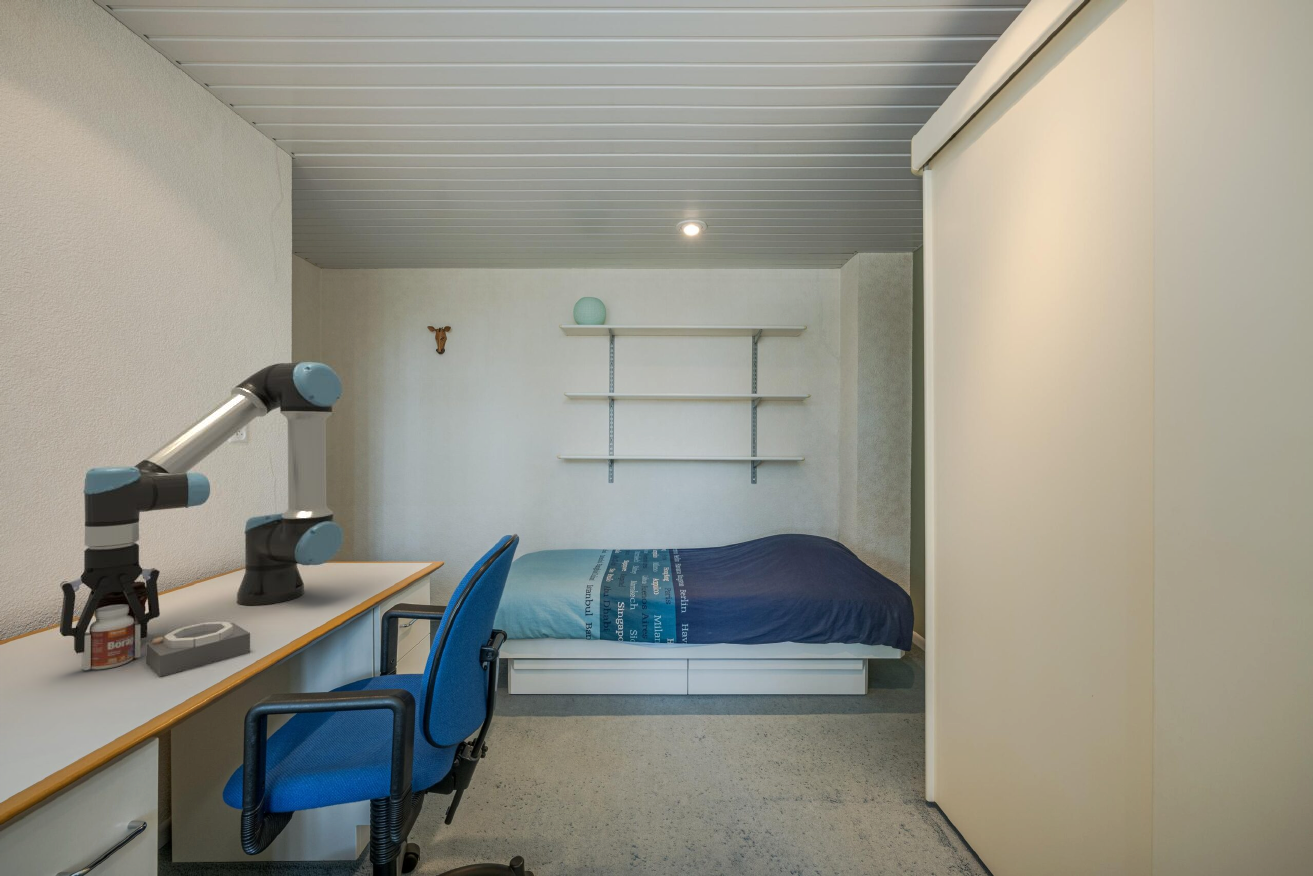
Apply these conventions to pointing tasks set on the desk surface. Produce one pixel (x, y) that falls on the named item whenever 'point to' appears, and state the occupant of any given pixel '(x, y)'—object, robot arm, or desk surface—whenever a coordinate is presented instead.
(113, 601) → the takeaway cup with lid
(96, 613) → the pill bottle
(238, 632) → the grey block with ring
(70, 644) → the desk surface
